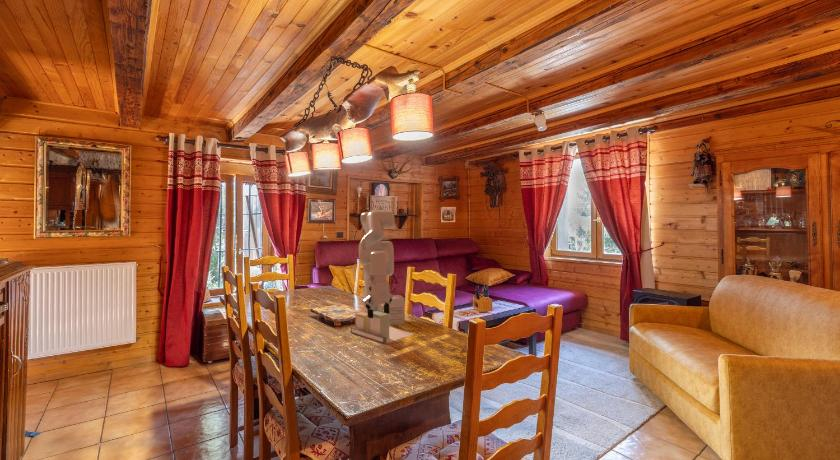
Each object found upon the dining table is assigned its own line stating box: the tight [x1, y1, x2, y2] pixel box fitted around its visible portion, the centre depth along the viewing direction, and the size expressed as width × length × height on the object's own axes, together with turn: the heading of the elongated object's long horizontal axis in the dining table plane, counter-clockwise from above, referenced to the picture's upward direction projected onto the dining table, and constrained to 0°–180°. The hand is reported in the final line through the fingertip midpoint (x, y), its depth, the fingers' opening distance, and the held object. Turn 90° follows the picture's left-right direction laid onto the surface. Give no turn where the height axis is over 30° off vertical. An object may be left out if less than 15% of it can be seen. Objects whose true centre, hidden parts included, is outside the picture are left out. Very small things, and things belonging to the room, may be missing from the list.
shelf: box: [350, 326, 415, 345], centre depth 187 cm, size 19×24×4 cm
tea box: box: [369, 311, 390, 339], centre depth 181 cm, size 5×9×11 cm, turn 47°
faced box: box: [354, 311, 369, 332], centre depth 188 cm, size 4×7×9 cm, turn 47°
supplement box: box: [383, 294, 406, 326], centre depth 205 cm, size 9×9×15 cm
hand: (378, 315), depth 181 cm, fingers open, 9 cm apart
